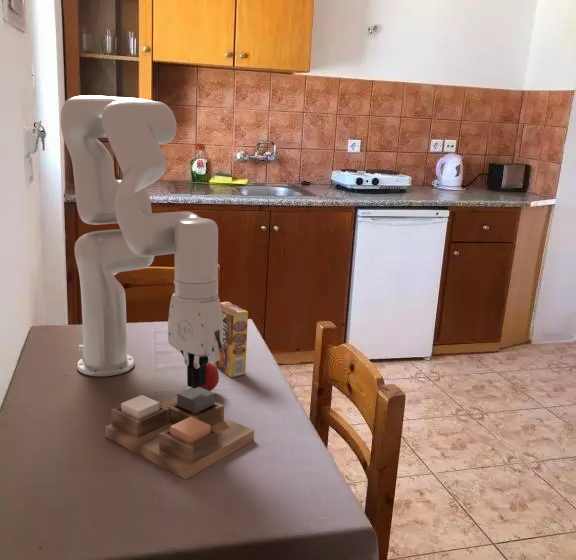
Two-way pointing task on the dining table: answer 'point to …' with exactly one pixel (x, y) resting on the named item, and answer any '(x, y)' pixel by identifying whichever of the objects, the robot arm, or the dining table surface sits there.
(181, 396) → the charcoal key
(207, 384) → the pomegranate
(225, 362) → the candy box
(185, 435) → the terracotta key
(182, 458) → the wooden shape sorter board
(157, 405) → the ivory key
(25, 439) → the dining table surface
